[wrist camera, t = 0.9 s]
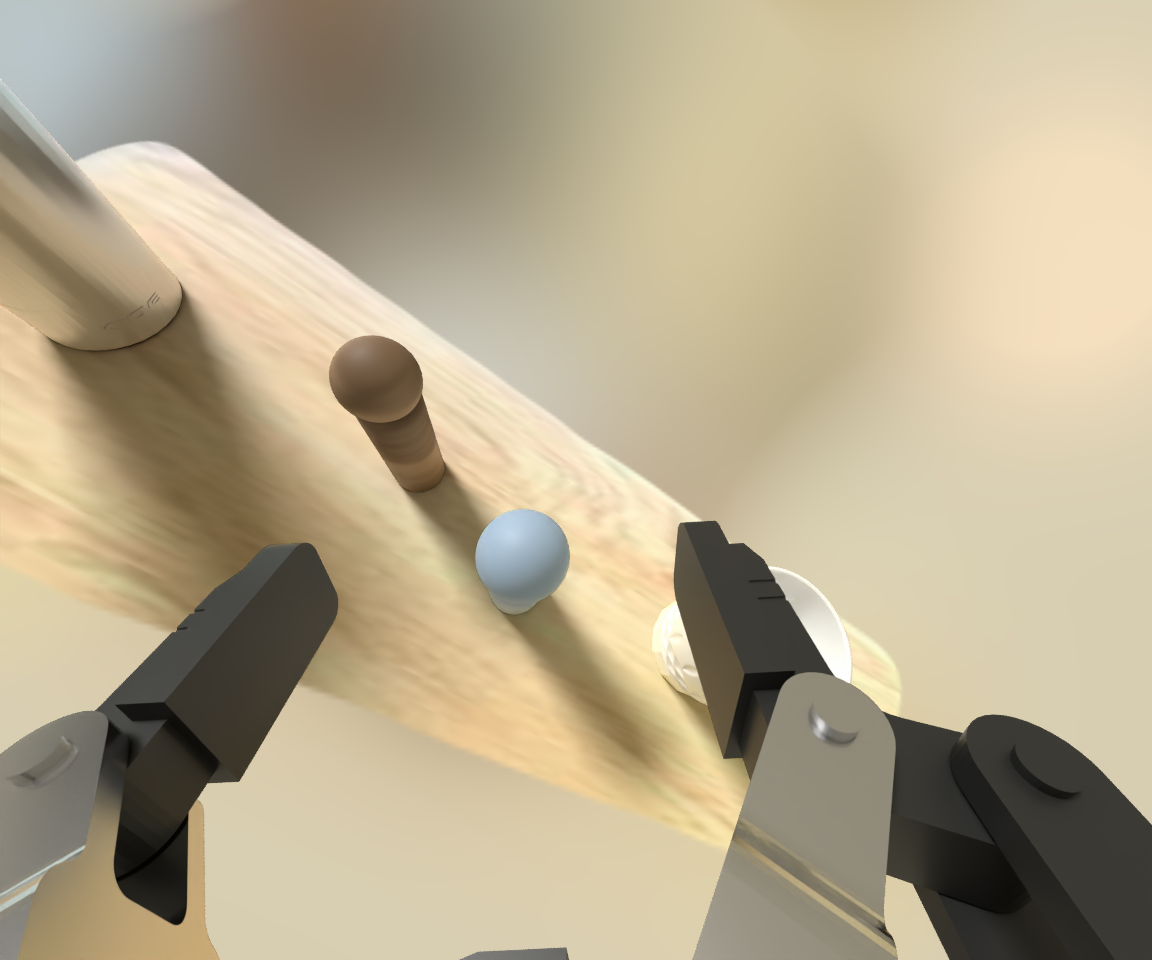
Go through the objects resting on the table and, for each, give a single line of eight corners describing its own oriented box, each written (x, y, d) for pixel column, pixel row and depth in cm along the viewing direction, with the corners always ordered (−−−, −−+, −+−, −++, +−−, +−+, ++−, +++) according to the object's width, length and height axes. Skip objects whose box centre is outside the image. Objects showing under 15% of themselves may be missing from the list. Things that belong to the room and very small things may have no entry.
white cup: (749, 712, 29) (864, 743, 20) (640, 701, 28) (707, 728, 19) (744, 596, 32) (841, 576, 23) (645, 582, 31) (705, 556, 22)
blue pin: (472, 596, 29) (449, 558, 16) (508, 546, 30) (514, 478, 18) (522, 631, 29) (538, 621, 16) (556, 580, 30) (595, 534, 18)
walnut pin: (377, 474, 31) (291, 357, 18) (416, 434, 32) (363, 301, 20) (423, 506, 31) (368, 410, 18) (460, 464, 32) (433, 348, 20)
